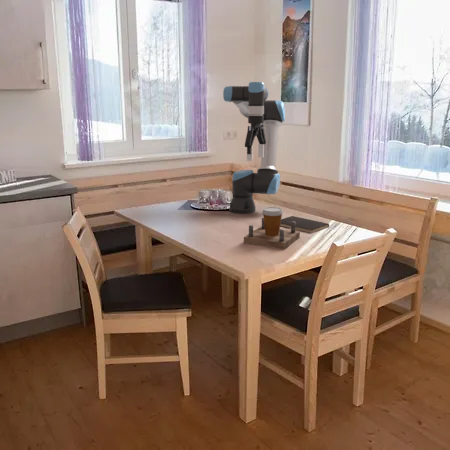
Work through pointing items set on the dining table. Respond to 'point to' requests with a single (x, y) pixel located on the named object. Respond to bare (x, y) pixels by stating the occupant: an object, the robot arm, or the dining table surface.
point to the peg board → (272, 237)
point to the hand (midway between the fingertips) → (255, 159)
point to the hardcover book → (303, 224)
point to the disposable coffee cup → (272, 220)
